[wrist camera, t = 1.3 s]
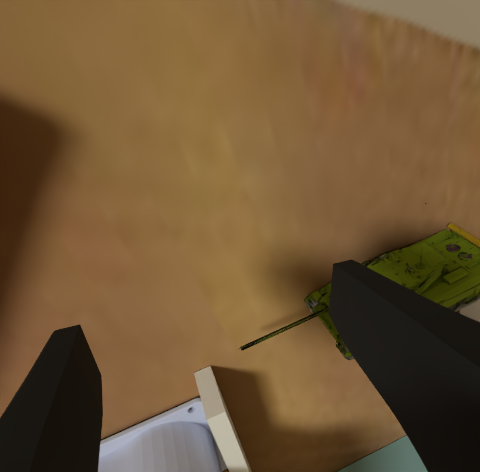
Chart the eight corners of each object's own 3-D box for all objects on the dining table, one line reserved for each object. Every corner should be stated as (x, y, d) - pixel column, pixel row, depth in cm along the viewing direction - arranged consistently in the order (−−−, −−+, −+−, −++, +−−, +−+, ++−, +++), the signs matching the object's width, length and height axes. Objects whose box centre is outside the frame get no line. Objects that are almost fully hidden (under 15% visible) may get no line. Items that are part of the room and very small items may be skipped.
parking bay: (257, 521, 33) (273, 573, 30) (194, 372, 25) (206, 420, 21) (465, 411, 37) (502, 445, 34) (473, 251, 29) (523, 274, 25)
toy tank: (512, 316, 25) (561, 196, 18) (265, 444, 22) (225, 355, 16) (434, 256, 30) (450, 149, 24) (228, 354, 27) (187, 261, 21)
